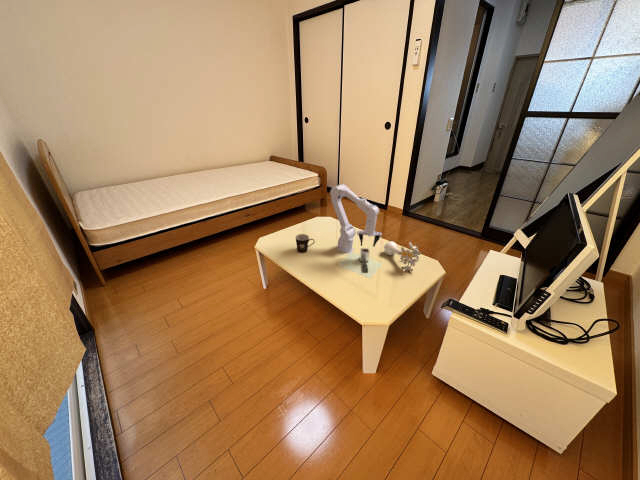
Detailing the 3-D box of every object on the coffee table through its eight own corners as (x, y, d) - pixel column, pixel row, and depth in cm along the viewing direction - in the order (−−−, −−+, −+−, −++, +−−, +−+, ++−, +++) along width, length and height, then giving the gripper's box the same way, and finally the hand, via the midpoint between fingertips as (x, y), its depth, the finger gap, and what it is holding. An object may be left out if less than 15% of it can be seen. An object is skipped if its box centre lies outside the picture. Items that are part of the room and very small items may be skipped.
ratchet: (370, 272, 143) (371, 266, 141) (360, 272, 144) (361, 265, 141) (368, 258, 157) (368, 252, 155) (358, 257, 157) (359, 251, 155)
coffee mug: (293, 252, 161) (293, 238, 156) (299, 246, 168) (299, 233, 163) (309, 256, 158) (309, 242, 153) (314, 249, 165) (315, 236, 160)
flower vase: (382, 263, 165) (407, 276, 143) (378, 238, 159) (403, 248, 137) (398, 256, 169) (425, 268, 146) (394, 231, 163) (422, 240, 140)
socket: (360, 260, 152) (361, 252, 149) (359, 256, 156) (360, 248, 153) (368, 261, 151) (369, 252, 148) (367, 256, 156) (368, 248, 153)
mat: (337, 265, 150) (337, 264, 149) (351, 252, 163) (351, 252, 163) (370, 278, 139) (370, 278, 139) (382, 264, 152) (382, 263, 152)
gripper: (358, 227, 144) (356, 247, 150) (383, 229, 143) (380, 249, 149) (358, 222, 150) (355, 242, 157) (382, 224, 149) (378, 244, 155)
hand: (367, 245), depth 153 cm, fingers open, 7 cm apart
